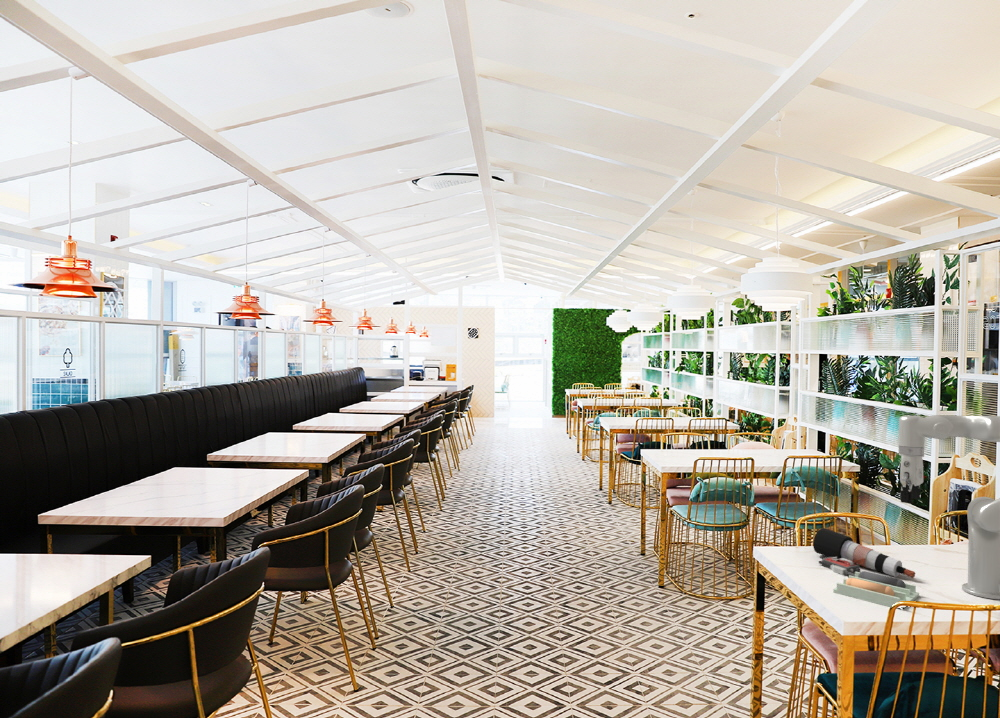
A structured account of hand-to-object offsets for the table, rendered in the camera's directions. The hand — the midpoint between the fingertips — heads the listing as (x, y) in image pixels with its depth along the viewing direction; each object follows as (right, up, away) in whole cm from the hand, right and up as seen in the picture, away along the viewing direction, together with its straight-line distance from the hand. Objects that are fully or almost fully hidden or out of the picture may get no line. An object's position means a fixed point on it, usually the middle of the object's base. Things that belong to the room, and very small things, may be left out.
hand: (910, 500), depth 223 cm
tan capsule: (-23, -25, -15) cm, 37 cm away
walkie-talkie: (-17, -29, +10) cm, 35 cm away
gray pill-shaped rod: (-15, -25, -8) cm, 30 cm away
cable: (-7, -29, +16) cm, 34 cm away
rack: (-19, -28, -12) cm, 36 cm away
